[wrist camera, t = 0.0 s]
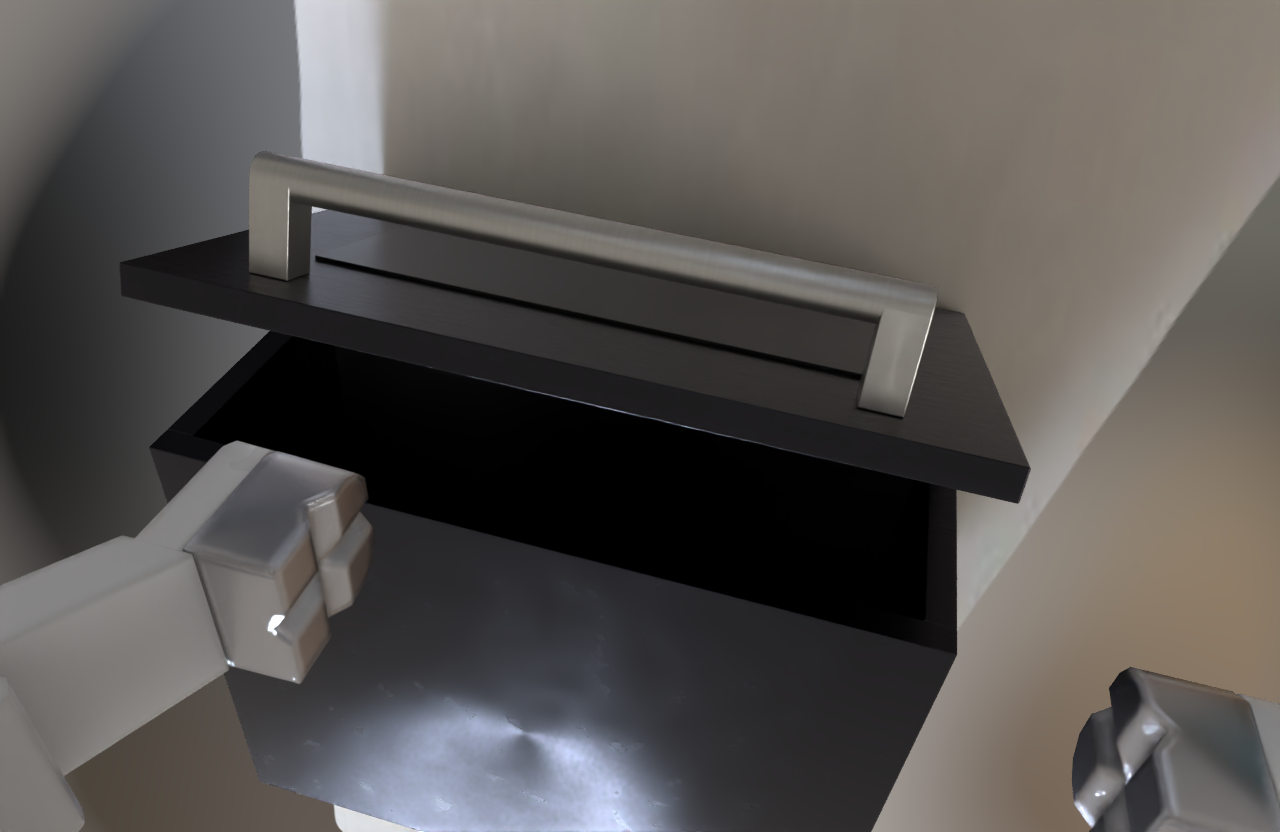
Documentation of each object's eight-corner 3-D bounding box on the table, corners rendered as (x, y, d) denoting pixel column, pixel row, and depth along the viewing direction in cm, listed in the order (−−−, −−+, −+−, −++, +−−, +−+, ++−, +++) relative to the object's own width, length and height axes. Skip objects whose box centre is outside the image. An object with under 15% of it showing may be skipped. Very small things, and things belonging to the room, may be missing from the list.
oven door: (388, 113, 64) (112, 136, 40) (990, 227, 58) (1078, 333, 34) (383, 217, 67) (120, 296, 43) (957, 337, 61) (1018, 504, 37)
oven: (386, 218, 67) (148, 447, 47) (956, 337, 61) (957, 654, 41) (416, 530, 87) (259, 781, 68) (847, 642, 81) (812, 952, 62)
